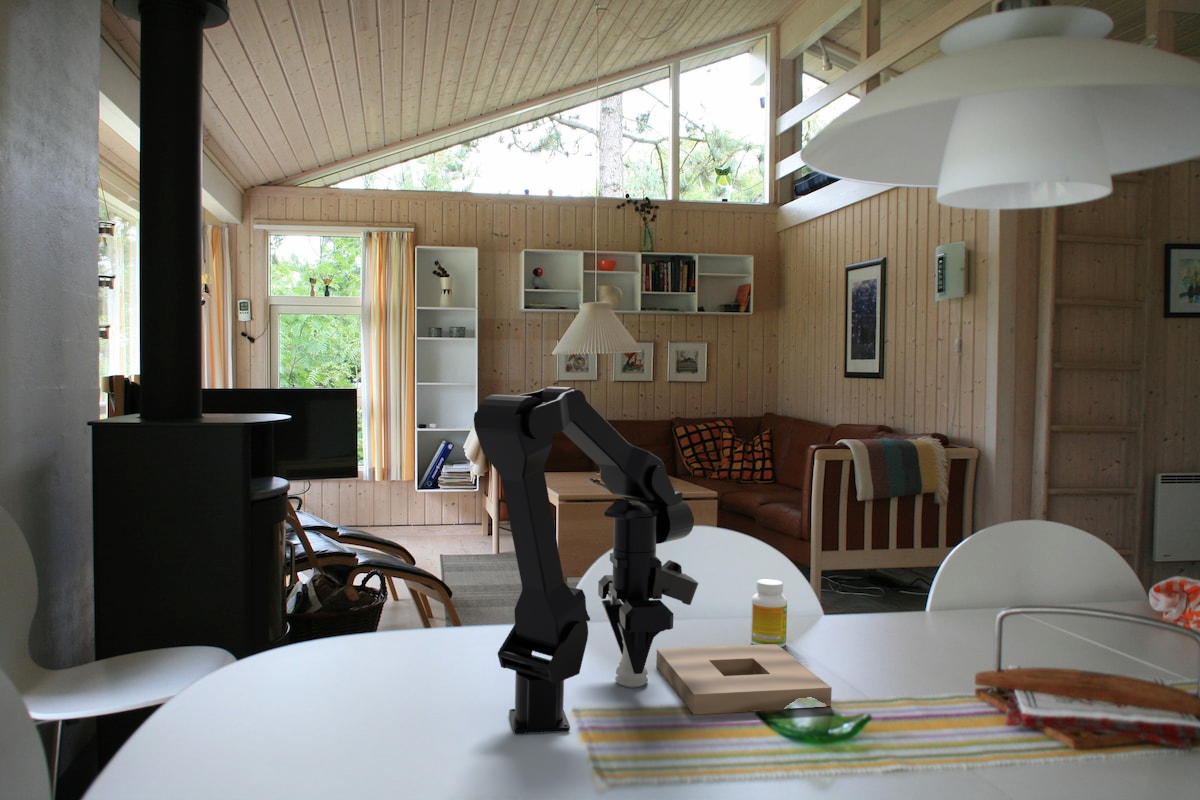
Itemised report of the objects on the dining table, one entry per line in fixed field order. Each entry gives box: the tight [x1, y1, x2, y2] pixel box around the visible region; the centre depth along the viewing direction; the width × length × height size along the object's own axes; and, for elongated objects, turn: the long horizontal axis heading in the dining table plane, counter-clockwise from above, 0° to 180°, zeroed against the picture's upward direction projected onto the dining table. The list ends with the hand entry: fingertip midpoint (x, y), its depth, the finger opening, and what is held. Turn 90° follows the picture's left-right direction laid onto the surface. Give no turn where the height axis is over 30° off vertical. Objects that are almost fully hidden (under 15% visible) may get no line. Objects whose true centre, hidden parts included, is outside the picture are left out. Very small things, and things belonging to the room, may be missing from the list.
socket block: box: [655, 644, 833, 716], centre depth 119 cm, size 18×18×2 cm
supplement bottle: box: [750, 578, 788, 648], centre depth 138 cm, size 5×5×10 cm
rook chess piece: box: [614, 641, 649, 689], centre depth 120 cm, size 4×4×8 cm
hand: (631, 664), depth 120 cm, fingers open, 7 cm apart
